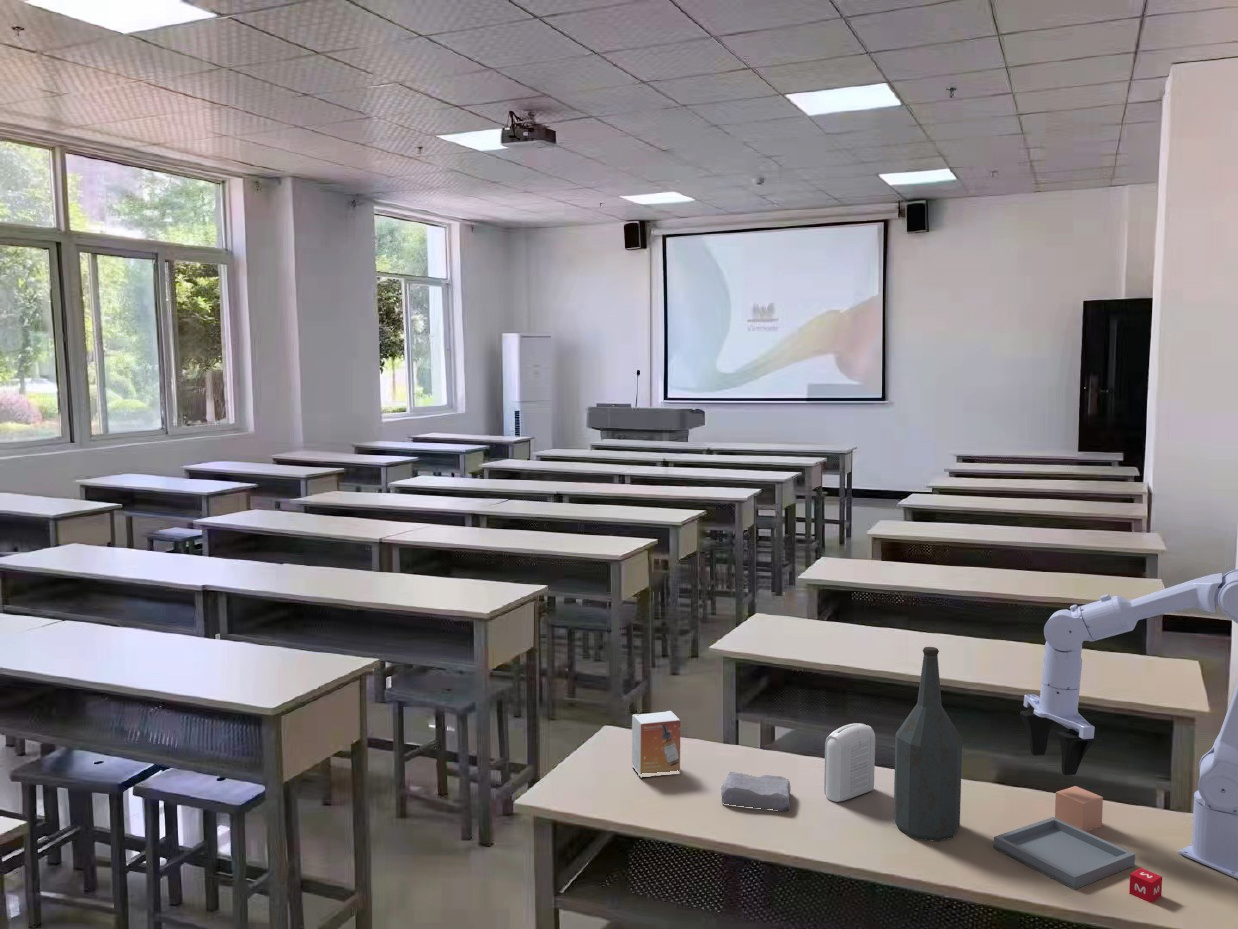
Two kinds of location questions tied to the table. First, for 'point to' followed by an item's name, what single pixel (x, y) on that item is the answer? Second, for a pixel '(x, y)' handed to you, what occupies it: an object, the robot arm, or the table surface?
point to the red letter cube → (1145, 885)
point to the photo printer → (849, 762)
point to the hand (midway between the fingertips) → (1053, 764)
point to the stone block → (756, 791)
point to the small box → (656, 742)
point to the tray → (1064, 852)
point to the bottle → (928, 763)
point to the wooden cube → (1079, 808)
